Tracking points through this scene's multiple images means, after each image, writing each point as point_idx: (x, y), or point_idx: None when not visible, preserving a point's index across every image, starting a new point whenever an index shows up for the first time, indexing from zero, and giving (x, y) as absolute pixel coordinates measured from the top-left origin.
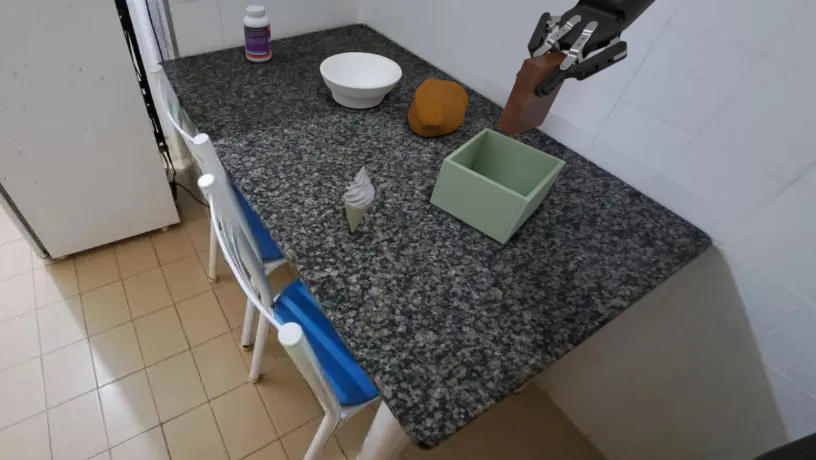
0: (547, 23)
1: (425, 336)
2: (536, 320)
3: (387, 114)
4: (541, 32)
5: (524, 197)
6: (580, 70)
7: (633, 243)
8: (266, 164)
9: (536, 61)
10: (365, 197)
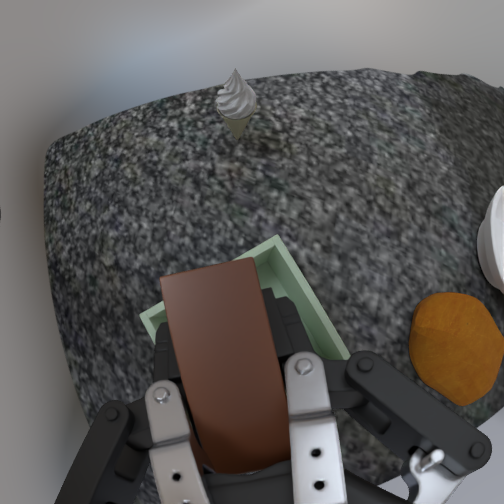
0: (431, 450)
1: (96, 167)
2: (73, 279)
3: (466, 281)
4: (402, 416)
5: (148, 315)
6: (102, 407)
7: None
8: (369, 95)
9: (217, 295)
10: (219, 98)
